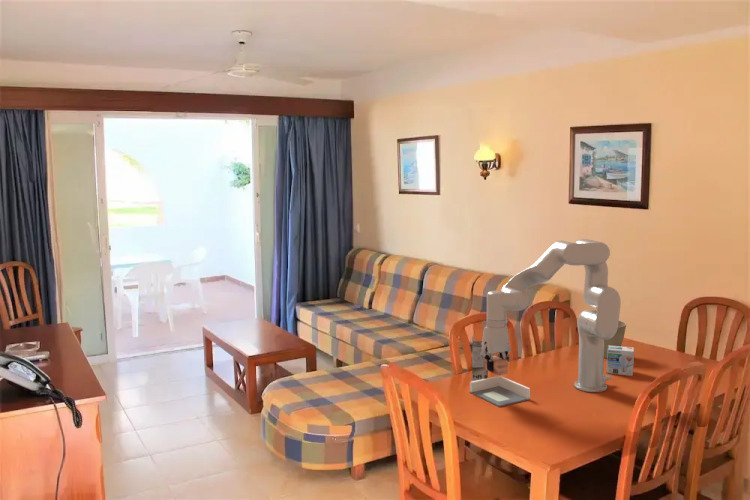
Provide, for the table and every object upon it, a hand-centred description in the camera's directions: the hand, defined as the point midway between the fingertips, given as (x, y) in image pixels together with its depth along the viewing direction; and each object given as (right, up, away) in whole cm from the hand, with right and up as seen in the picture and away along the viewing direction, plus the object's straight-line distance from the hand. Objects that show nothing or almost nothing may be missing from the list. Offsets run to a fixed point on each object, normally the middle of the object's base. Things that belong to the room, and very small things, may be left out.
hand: (495, 369), depth 247 cm
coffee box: (-2, -9, +21) cm, 23 cm away
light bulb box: (+59, -7, +29) cm, 66 cm away
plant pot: (+62, -4, +53) cm, 82 cm away
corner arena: (+2, -11, +4) cm, 12 cm away
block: (0, -1, 0) cm, 1 cm away
